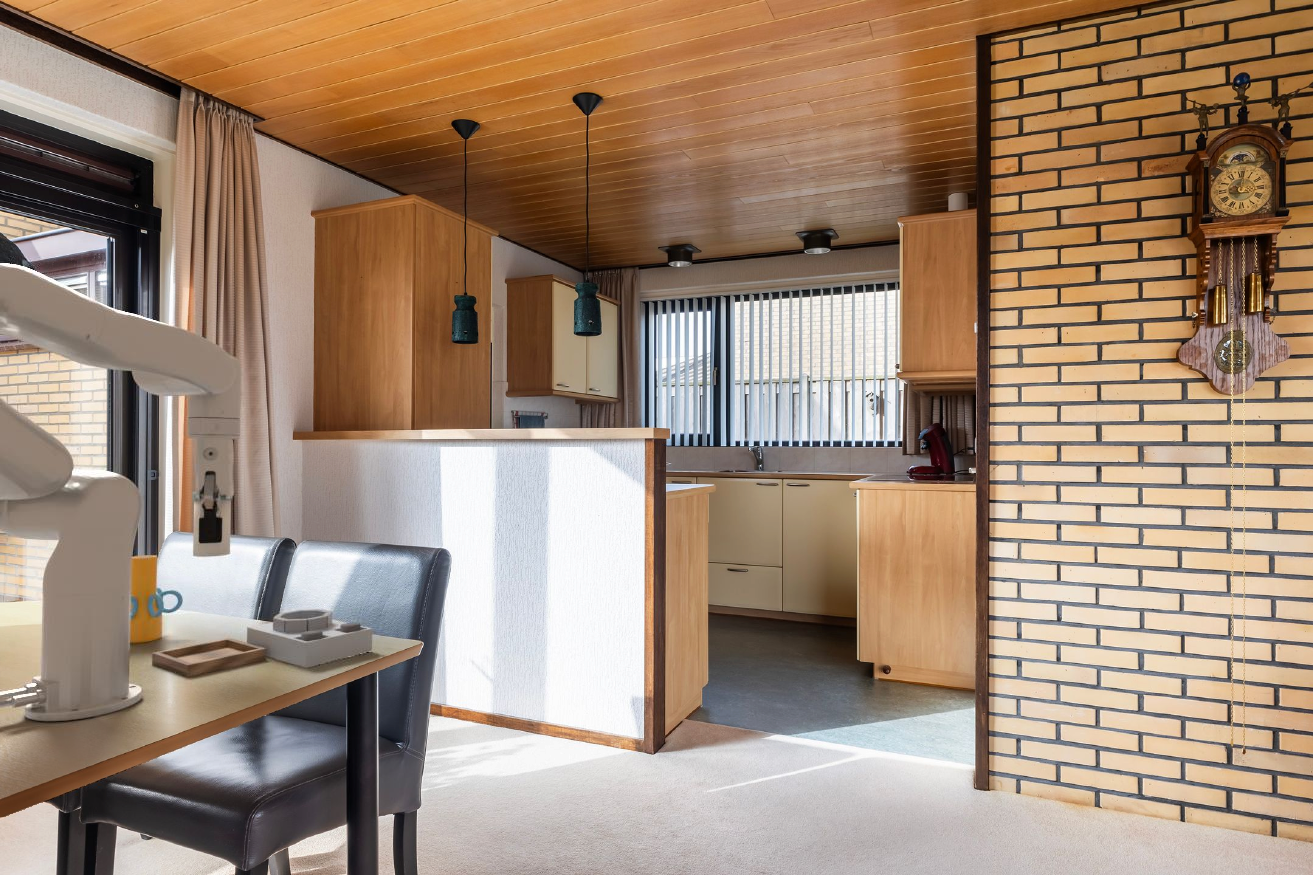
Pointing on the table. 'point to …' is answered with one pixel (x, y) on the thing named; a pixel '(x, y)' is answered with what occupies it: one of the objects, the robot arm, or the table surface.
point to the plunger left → (311, 635)
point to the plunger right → (350, 627)
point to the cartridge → (224, 545)
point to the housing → (289, 647)
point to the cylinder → (147, 600)
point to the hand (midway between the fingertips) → (212, 539)
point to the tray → (208, 656)
